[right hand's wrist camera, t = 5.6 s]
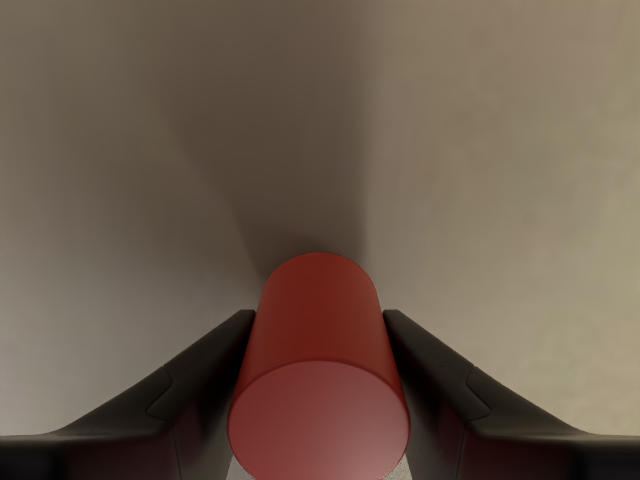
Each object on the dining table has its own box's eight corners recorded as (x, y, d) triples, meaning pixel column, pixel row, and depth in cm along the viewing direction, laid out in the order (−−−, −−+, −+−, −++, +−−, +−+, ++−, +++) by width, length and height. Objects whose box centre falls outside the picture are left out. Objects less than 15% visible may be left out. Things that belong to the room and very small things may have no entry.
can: (335, 228, 11) (346, 323, 7) (398, 318, 12) (444, 453, 8) (237, 290, 12) (186, 415, 8) (304, 370, 13) (296, 523, 9)
